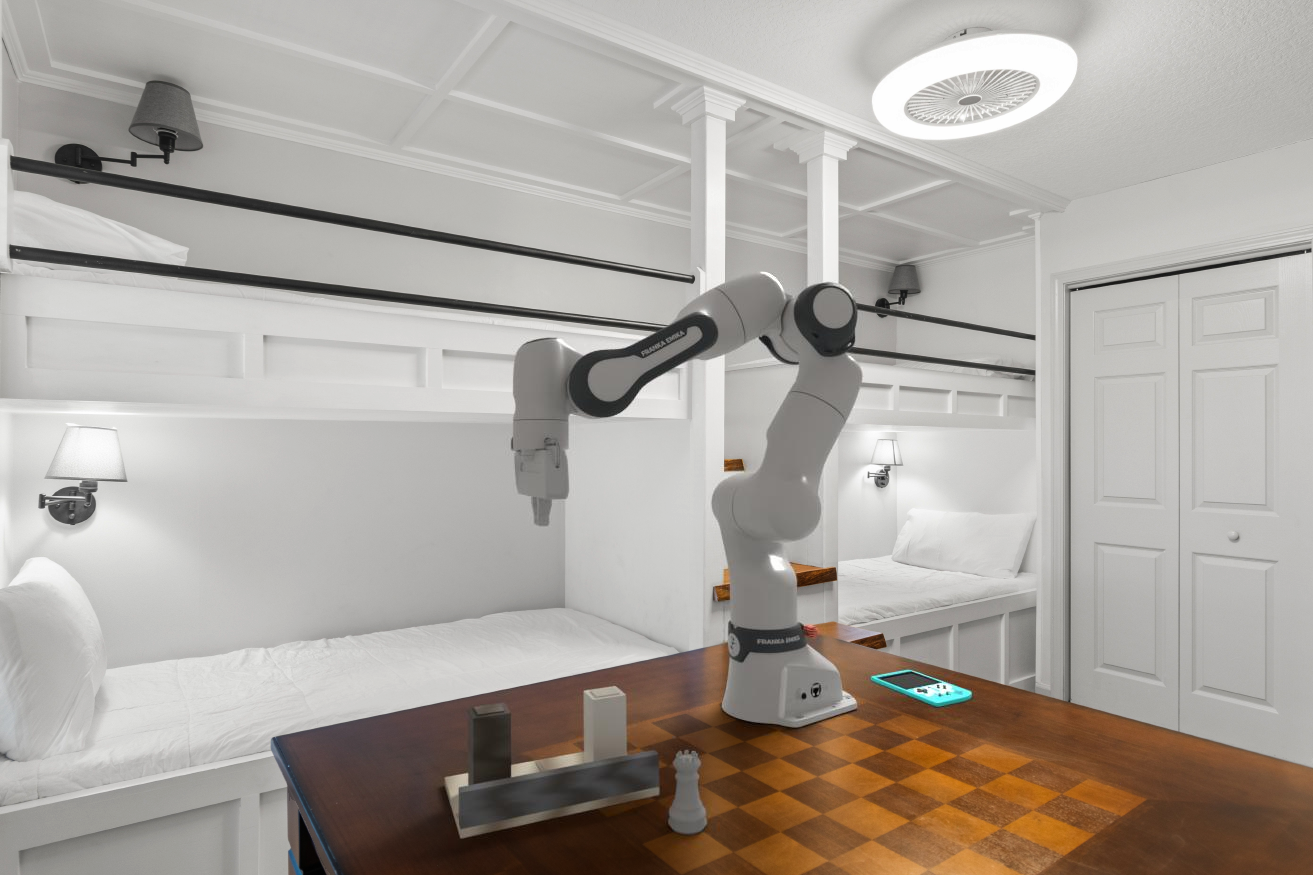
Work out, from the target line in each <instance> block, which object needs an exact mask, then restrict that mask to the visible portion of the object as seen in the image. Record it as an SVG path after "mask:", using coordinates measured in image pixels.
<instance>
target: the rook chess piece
mask: <svg viewBox="0 0 1313 875" xmlns="http://www.w3.org/2000/svg"><path fill="white" fill-rule="evenodd" d="M683 751H684V752H683ZM683 751H682V750H679V751H677V753H675V759H674V760H673V761H672V766H673V767H674V768H675V770H676V773H675V775H674V778H675V780H676V788H675V789H676V790H675V795H674V800H673V801H672V805H671V806H670V807H669V810H668V817H669V818H668V819H667V821H668V822H667V823H668V825H669V826H670V828H671V829H672V830H673V832H675V833H678V834H682V835H684V836H685V835H695V834H699V833H700V832H702V831H703V830H704V829H705V827H706V825H707V824H708V819H707V818H706V817H707V811H706V807H705V806H704V805H703V801H702V800H701V798H700V791H699V784H698V782H699V779H700V775H699V773H698V770H699V768H700V767H701V766H702V762H701V760H700V758H699V754H698V753H697V752H696V750H692V751H691V753H689V752H690V751H689V749H684V750H683Z"/></svg>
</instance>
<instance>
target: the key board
mask: <svg viewBox="0 0 1313 875" xmlns="http://www.w3.org/2000/svg"><path fill="white" fill-rule="evenodd" d="M444 788H445V791H446V794H447V798H448V800H449V801H448V802H449V805H450V807H451V810H452V814H453V817H454V821H455V824H456V827H457V831H458V835H459V838H460V839H465V838H470V837H475V836H479V835H482V834H483V835H484V834H487V833H493V832H497V831H501V830H507V829H511V828H514V827H515V828H516V827H520V826H524V825H529V824H533V823H537V822H542V821H547V820H551V819H555V818H560V817H564V816H565V817H566V816H570V815H574V814H578V813H583V812H587V811H588V812H589V811H591V810H597V809H601V808H605V807H610V806H615V805H619V804H624V803H629V802H634V801H638V800H642V799H647V798H652V797H657V796H660V754H659V752H657V750H655V749H652V750H647V751H641V752H637V753H631V754H629V753H628V752H627V755H625V756H620V757H615V758H609V759H604V760H599V761H594V762H589V763H584V751H580V752H575V753H570V754H569V753H568V754H564V755H558V756H554V757H552V756H551V757H548V758H543V759H542V758H541V759H538V760H537V759H536V760H531V761H526V762H520V763H515V764H511V777H510V778H505V779H500V780H495V781H489V782H484V783H479V784H474V785H468V772H466V773H460V774H456V775H455V774H454V775H450V776H444Z"/></svg>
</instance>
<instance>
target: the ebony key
mask: <svg viewBox="0 0 1313 875" xmlns="http://www.w3.org/2000/svg"><path fill="white" fill-rule="evenodd" d="M511 714H512V712H511V711H510V709H509V707H508V706H507V704H506V702H499V703H491V704H484V705H479V706H478V705H477V706H472V707H467V773H468V785H474V784H479V783H484V782H489V781H495V780H500V779H505V778H510V777H511V765H512V715H511Z"/></svg>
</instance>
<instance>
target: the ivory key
mask: <svg viewBox="0 0 1313 875" xmlns="http://www.w3.org/2000/svg"><path fill="white" fill-rule="evenodd" d="M627 743H628V741H627V694H626V693H625V692H624V691H622V690H621V689H620V688H618V687H617V686H616V685H613V686H605V687H600V688H593V689H587V690H583V752H584V763H589V762H594V761H599V760H604V759H609V758H615V757H620V756H625V755H627V753H628V750H627V746H628V745H627Z"/></svg>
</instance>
